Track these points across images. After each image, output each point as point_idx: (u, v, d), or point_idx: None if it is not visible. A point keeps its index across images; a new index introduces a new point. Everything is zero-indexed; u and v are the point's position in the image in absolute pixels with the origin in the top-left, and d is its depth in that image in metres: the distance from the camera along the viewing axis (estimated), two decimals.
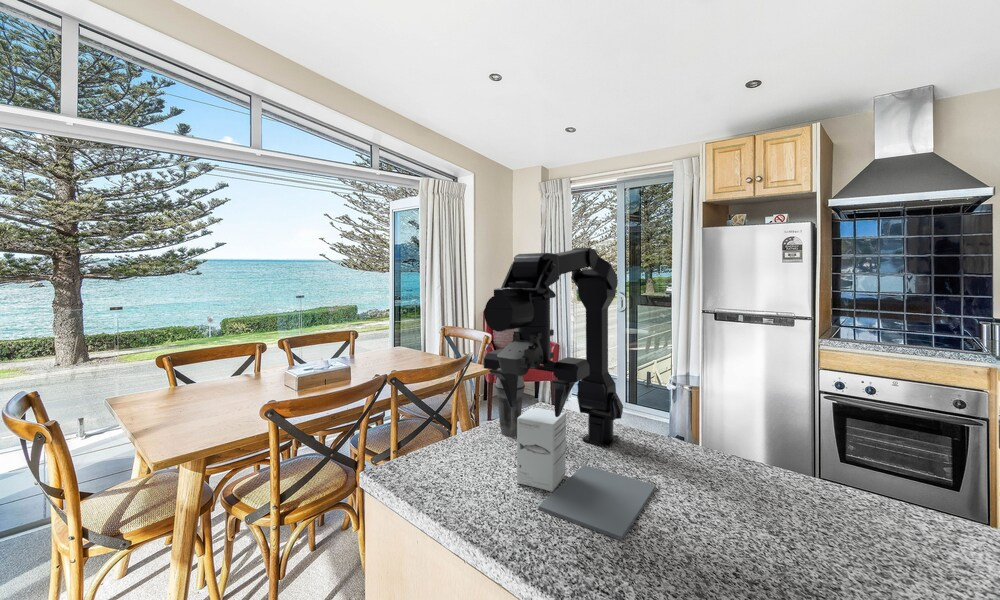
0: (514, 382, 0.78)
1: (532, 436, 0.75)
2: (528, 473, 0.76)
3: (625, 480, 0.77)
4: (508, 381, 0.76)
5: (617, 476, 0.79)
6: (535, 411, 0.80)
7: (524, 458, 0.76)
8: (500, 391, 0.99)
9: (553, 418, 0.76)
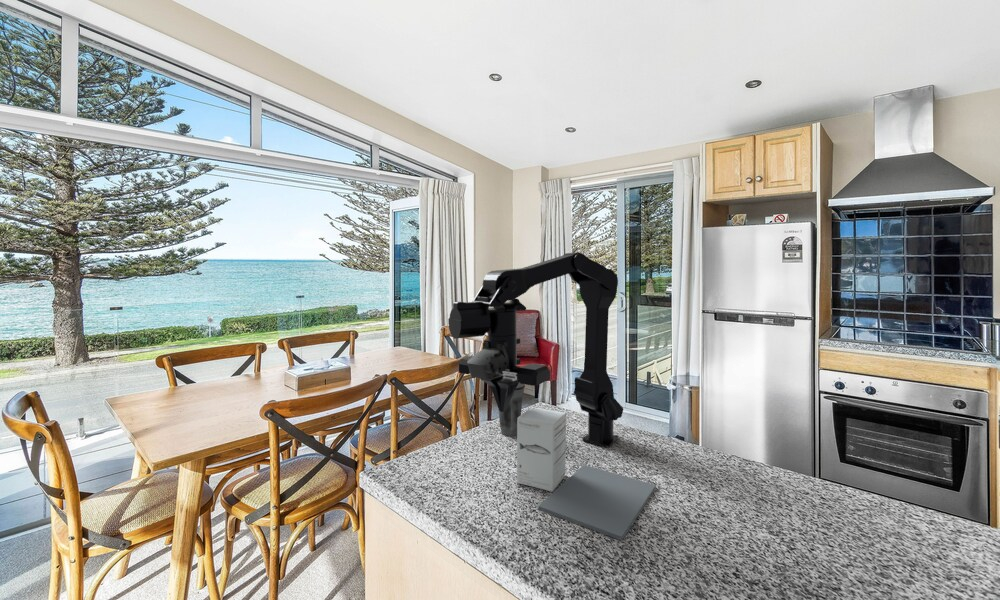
0: None
1: (532, 436, 0.75)
2: (528, 473, 0.76)
3: (625, 480, 0.77)
4: (497, 387, 0.82)
5: (617, 476, 0.79)
6: (535, 411, 0.80)
7: (524, 458, 0.76)
8: None
9: (553, 418, 0.76)
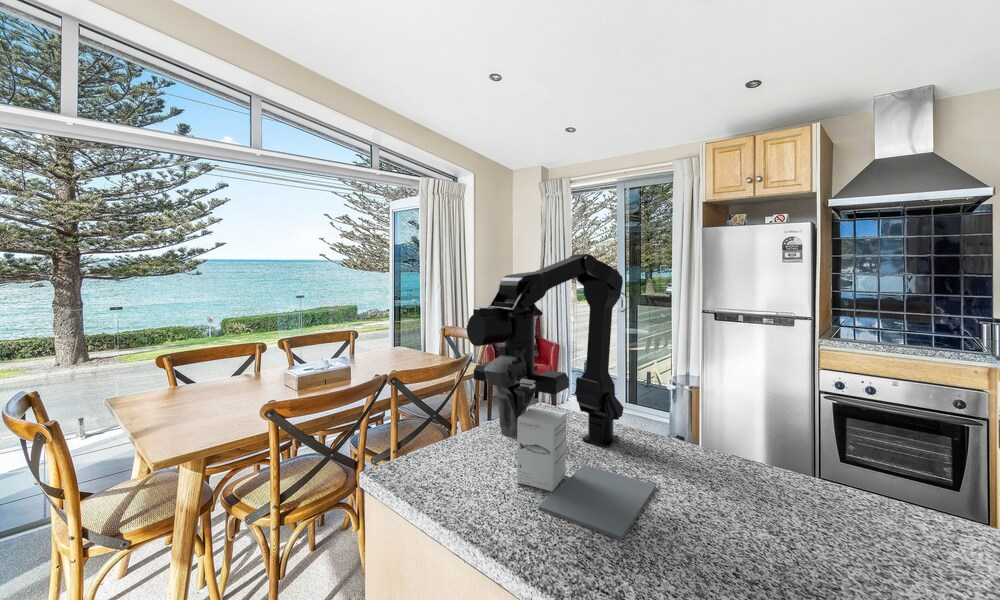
0: None
1: (532, 436, 0.75)
2: (528, 473, 0.76)
3: (625, 480, 0.77)
4: (514, 395, 0.80)
5: (617, 476, 0.79)
6: (535, 411, 0.80)
7: (524, 457, 0.76)
8: (500, 391, 0.99)
9: (553, 418, 0.76)
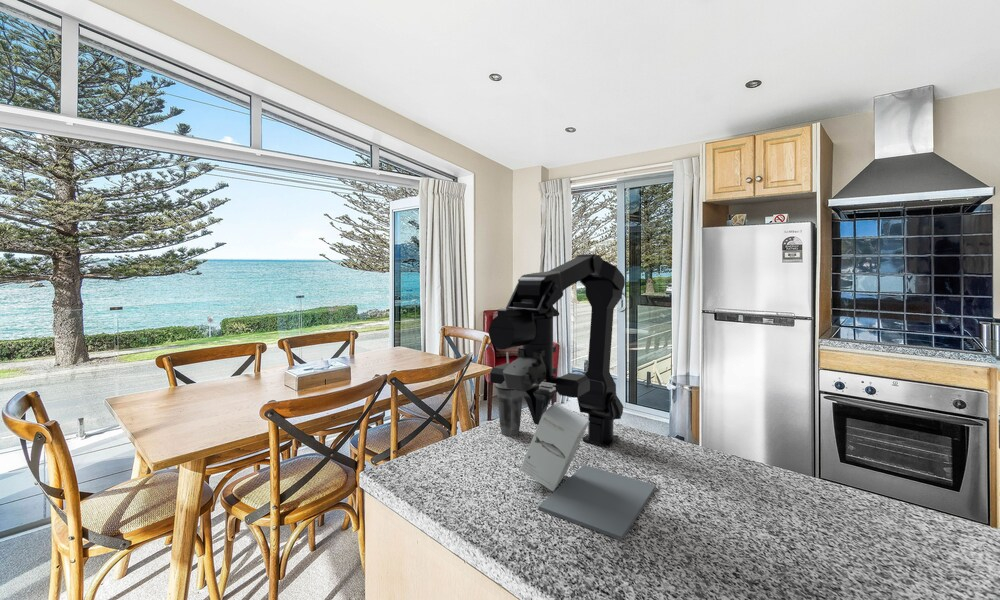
0: None
1: (552, 436, 0.73)
2: (534, 466, 0.75)
3: (625, 480, 0.77)
4: (532, 398, 0.78)
5: (617, 476, 0.79)
6: (560, 409, 0.77)
7: (535, 451, 0.75)
8: (500, 391, 0.99)
9: (578, 425, 0.74)
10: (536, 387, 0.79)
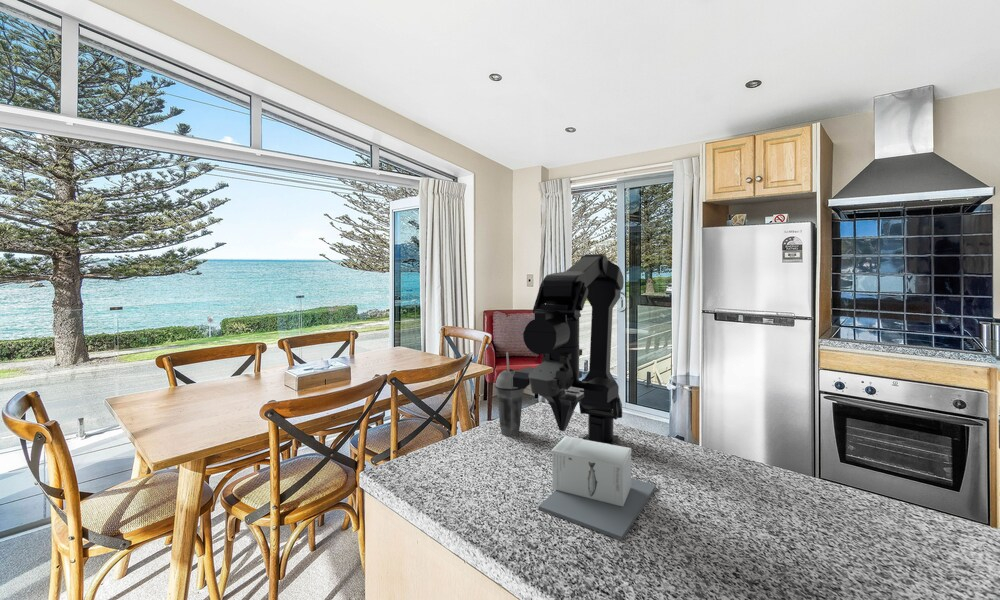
0: None
1: (604, 480, 0.69)
2: (564, 466, 0.73)
3: None
4: (557, 403, 0.75)
5: None
6: (629, 464, 0.72)
7: (579, 465, 0.71)
8: (500, 391, 0.99)
9: (626, 493, 0.70)
10: (561, 392, 0.76)
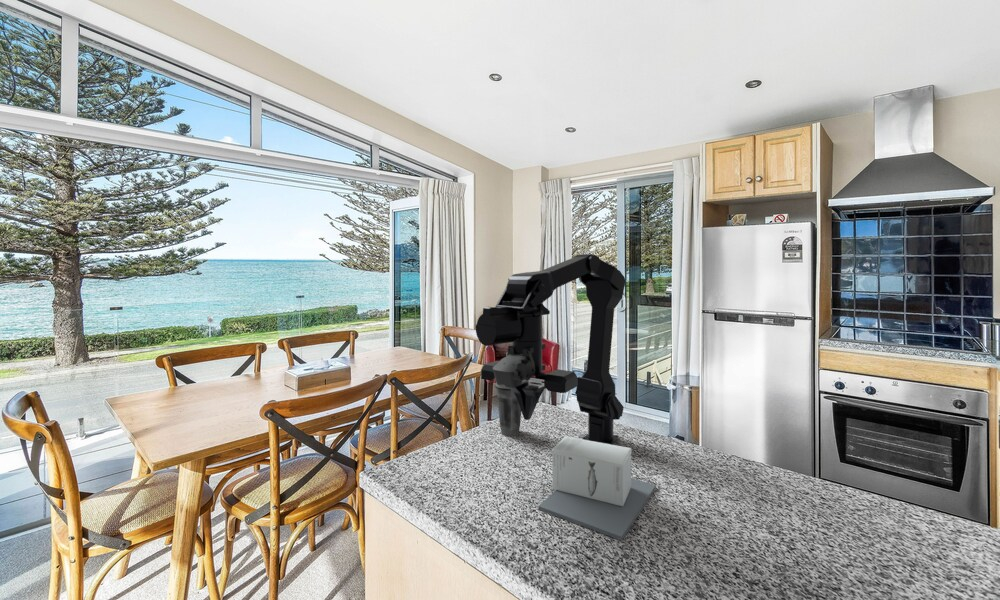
0: None
1: (604, 480, 0.69)
2: (564, 466, 0.73)
3: None
4: (522, 394, 0.80)
5: None
6: (629, 464, 0.72)
7: (579, 464, 0.71)
8: (500, 391, 0.99)
9: (626, 493, 0.70)
10: (526, 383, 0.81)
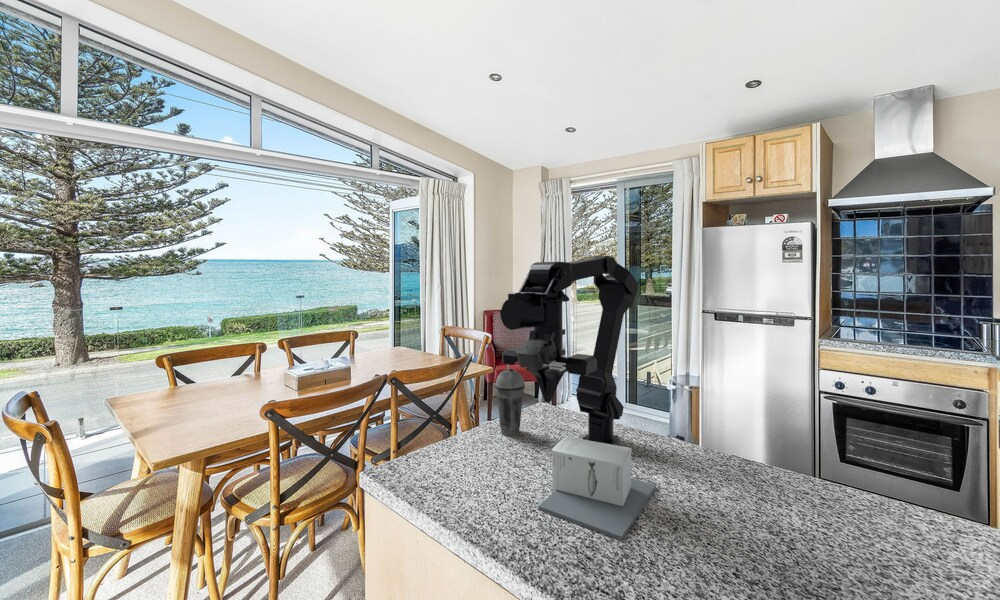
0: None
1: (604, 480, 0.69)
2: (564, 466, 0.73)
3: None
4: (543, 378, 0.83)
5: None
6: (629, 464, 0.72)
7: (579, 464, 0.71)
8: (500, 391, 0.99)
9: (626, 493, 0.70)
10: (546, 368, 0.85)
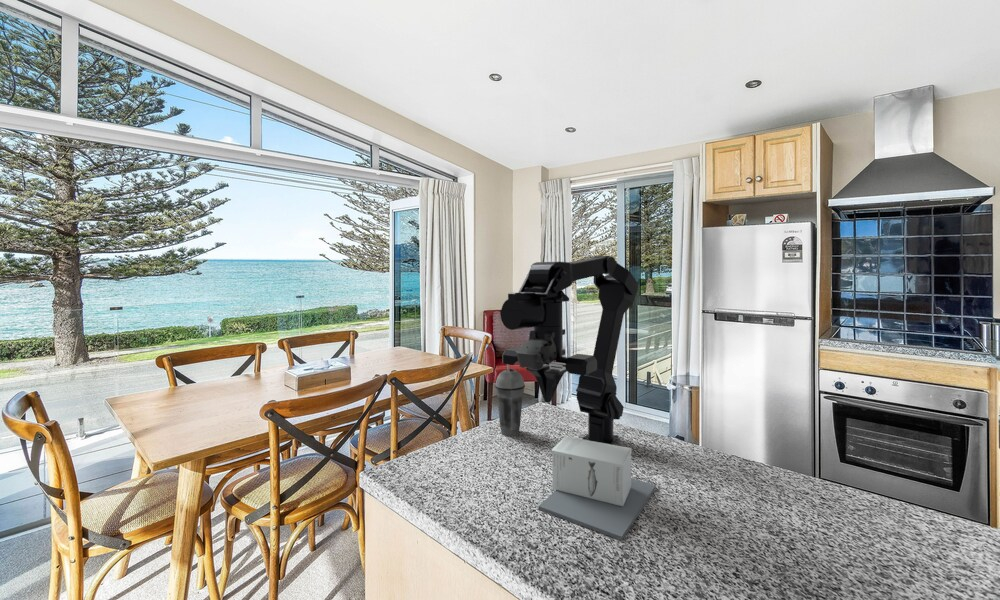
0: None
1: (604, 480, 0.69)
2: (564, 466, 0.73)
3: None
4: (543, 378, 0.83)
5: None
6: (629, 464, 0.72)
7: (579, 464, 0.71)
8: (500, 391, 0.99)
9: (626, 493, 0.70)
10: (546, 368, 0.85)
